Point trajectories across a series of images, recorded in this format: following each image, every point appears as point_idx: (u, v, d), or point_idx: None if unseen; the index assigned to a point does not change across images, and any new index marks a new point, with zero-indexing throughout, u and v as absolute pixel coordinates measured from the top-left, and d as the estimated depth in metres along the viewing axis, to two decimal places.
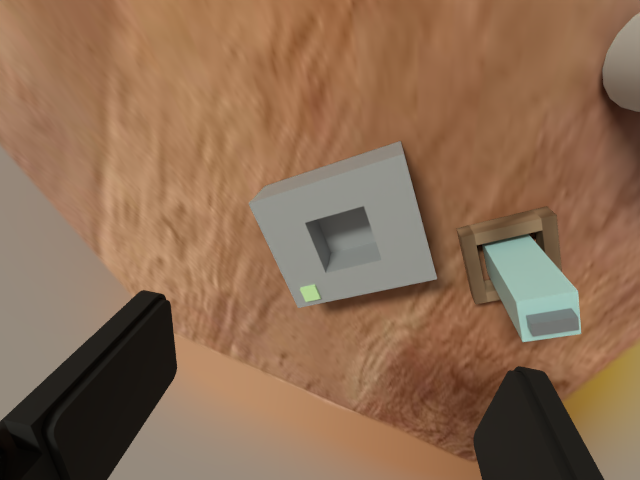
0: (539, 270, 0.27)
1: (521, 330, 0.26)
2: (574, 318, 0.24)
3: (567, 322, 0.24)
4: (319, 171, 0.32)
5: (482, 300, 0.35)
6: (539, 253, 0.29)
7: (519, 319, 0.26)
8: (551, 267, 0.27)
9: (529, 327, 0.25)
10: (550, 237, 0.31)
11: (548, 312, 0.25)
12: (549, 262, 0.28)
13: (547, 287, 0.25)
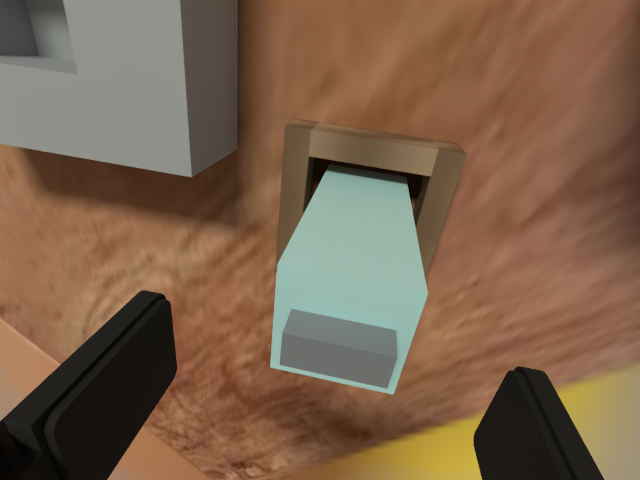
0: (380, 229, 0.12)
1: (274, 340, 0.10)
2: (387, 357, 0.09)
3: (368, 362, 0.09)
4: None
5: None
6: (402, 207, 0.14)
7: (275, 313, 0.10)
8: (406, 233, 0.12)
9: None
10: (437, 197, 0.16)
11: (342, 322, 0.10)
12: (410, 225, 0.12)
13: (370, 262, 0.10)
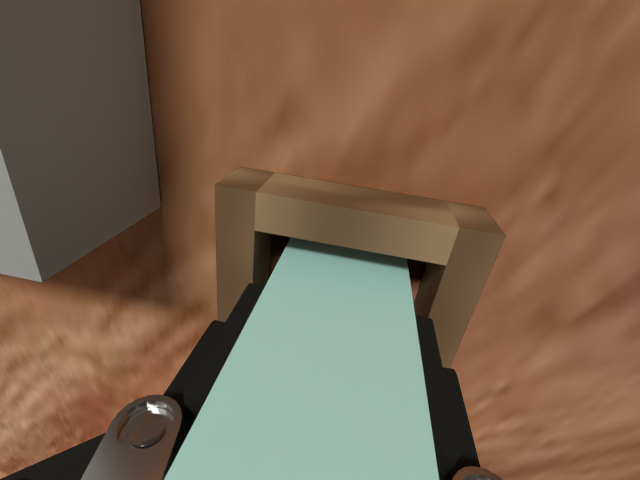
0: (361, 420, 0.06)
1: None
2: None
3: None
4: None
5: None
6: (402, 337, 0.08)
7: None
8: (412, 428, 0.06)
9: None
10: (456, 295, 0.10)
11: None
12: (417, 396, 0.07)
13: None
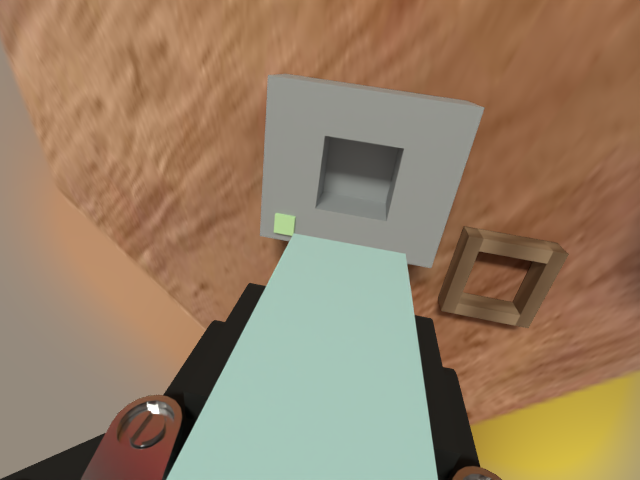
0: (360, 422, 0.06)
1: None
2: None
3: None
4: (365, 86, 0.25)
5: (450, 309, 0.32)
6: (402, 339, 0.08)
7: None
8: (411, 431, 0.06)
9: None
10: (549, 274, 0.29)
11: None
12: (417, 398, 0.07)
13: None
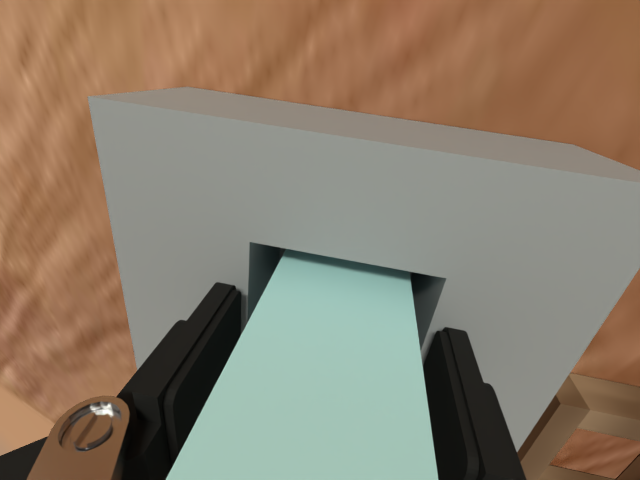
0: (364, 360, 0.07)
1: None
2: None
3: None
4: (349, 116, 0.11)
5: None
6: (400, 302, 0.09)
7: None
8: (406, 367, 0.07)
9: None
10: None
11: None
12: (412, 345, 0.08)
13: (340, 470, 0.05)
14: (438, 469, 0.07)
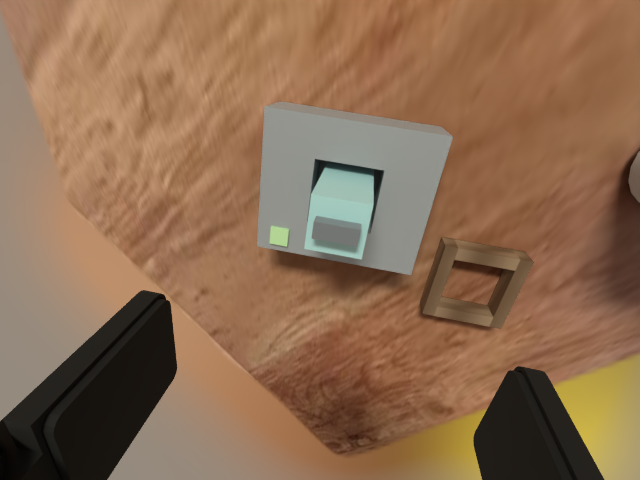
0: (356, 186, 0.24)
1: (307, 233, 0.23)
2: (356, 230, 0.21)
3: (349, 233, 0.21)
4: (350, 114, 0.28)
5: (430, 312, 0.35)
6: (368, 179, 0.26)
7: (308, 218, 0.22)
8: (368, 188, 0.24)
9: None
10: (517, 280, 0.32)
11: (338, 221, 0.22)
12: (371, 185, 0.25)
13: (350, 195, 0.22)
14: None
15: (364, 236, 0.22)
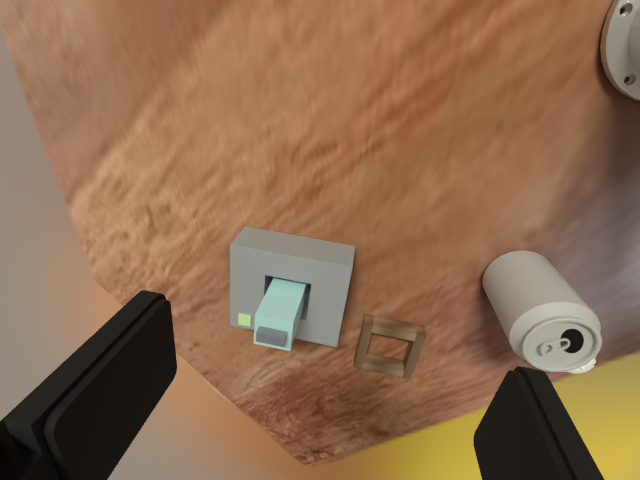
0: (288, 300, 0.37)
1: (254, 335, 0.36)
2: (282, 338, 0.34)
3: (278, 339, 0.34)
4: (291, 240, 0.41)
5: (359, 366, 0.48)
6: (301, 289, 0.39)
7: (255, 327, 0.35)
8: (296, 301, 0.37)
9: None
10: (416, 347, 0.45)
11: (273, 329, 0.35)
12: (299, 297, 0.38)
13: (281, 313, 0.35)
14: None
15: (290, 338, 0.35)
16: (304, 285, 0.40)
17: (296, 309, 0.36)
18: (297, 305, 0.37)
